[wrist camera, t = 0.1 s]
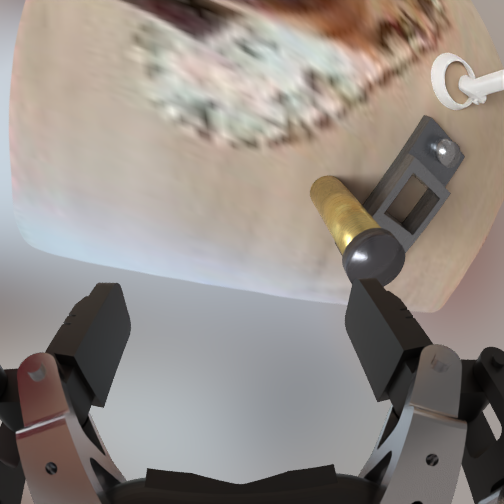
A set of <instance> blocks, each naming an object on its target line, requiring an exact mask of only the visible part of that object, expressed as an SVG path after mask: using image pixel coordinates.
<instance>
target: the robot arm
mask: <svg viewBox="0 0 504 504" xmlns="http://www.w3.org/2000/svg"><path fill="white" fill-rule="evenodd" d="M345 327H346V330H347V333H348V336H349V338H350V340H351V342H352V344H353V347H354V349H355V351H356V353H357V355H358V358H359V360H360V362H361V365H362V367H363V369H364V371H365V374H366V376H367V378H368V381H369V383H370V385H371V388H372V390H373V392H374V395H375V397H376V400H377V402H380V401H384V400H388V399H390V400H391V403H392V405H391V407H390V409H389V411H388V414H387V417H386V419H385V422H384V425H383V427H382V430H381V433H380V435H379V438H378V440H377V442H376V445H375V447H374V450H373V452H372V454H371V456H370V458H369V459H368V461H367V462H366V464H365V465H364V467H363V469H362V470H361V472H360V474H359V476H358V477H357V476H353V475H345V474H336V472H335V468H334V465H333V464H332V465H327V466H321V467H316V468H308V469H302V470H293V471H287V472H285V473H282V474H278V475H275V476H272V477H268V478H265V479H261V480H258V481H254V482H250V483H247V484H234V483H229V482H224V481H219V480H216V479H212V478H208V477H204V476H200V475H197V474H193V473H184V472H173V471H164V470H156V469H149V468H147V474H146V478H140V479H134V480H130V481H126V479H125V478H124V476H123V475H122V473H121V472H120V471H119V469H118V468H117V467H116V465H115V464H114V462H113V461H112V459H111V457H110V455H109V454H108V451H107V450H106V447H105V445H104V443H103V441H102V439H101V437H100V435H99V433H98V430H97V428H96V426H95V424H94V421H93V419H92V417H91V415H90V414H89V410H90V408H91V405H93V406H98V407H103V408H104V406H105V402H106V399H107V396H108V393H109V390H110V387H111V385H112V382H113V379H114V376H115V373H116V370H117V368H118V365H119V362H120V359H121V356H122V354H123V351H124V349H125V346H126V343H127V341H128V338H129V335H130V331H131V322H130V317H129V314H128V311H127V307H126V303H125V300H124V296H123V292H122V289H121V286H120V284H118V283H98V284H97V285H96V286H95V287H94V289H93V290H92V292H91V293H90V295H89V296H86V297H84V298H83V299H82V300H81V301H79V302H78V303H77V304H76V305H75V306H74V307H73V309H72V311H71V312H70V313H69V316H68V317H67V318H66V319H65V321H64V324H63V325H62V326H61V327H60V329H59V330H58V332H57V334H56V335H55V337H54V338H53V340H52V342H51V343H50V345H49V347H48V348H47V350H46V352H45V353H44V352H40V353H35V354H32V355H30V356H29V357H27V358H26V359H25V360H24V361H23V362H22V363H21V364H20V366H19V368H18V369H6V370H3V369H2V367H1V365H0V420H1V421H2V424H1V426H0V504H21V499H22V494H23V489H24V484H25V480H26V481H27V484H28V487H29V490H30V494H31V496H32V499H33V502H34V504H451V502H452V499H453V496H454V492H455V488H456V484H457V481H458V476H459V472H460V467H461V464H462V467H463V469H464V472H465V475H466V478H467V481H468V484H469V487H470V490H471V493H472V497H473V500H474V503H475V504H504V351H502V350H500V349H498V348H495V347H487V348H485V349H484V350H483V351H482V352H481V354H480V356H479V358H478V359H477V360H460V358H459V356H458V355H457V354H456V353H455V352H454V351H453V350H452V349H450V348H448V347H446V346H444V345H439V344H433V343H432V342H431V340H430V339H429V337H428V336H427V335H426V333H425V332H424V330H423V329H422V328H421V326H420V325H419V323H418V322H417V321H416V319H415V318H413V315H412V314H411V313H410V311H409V310H407V307H406V306H405V305H404V303H403V302H402V301H401V299H400V298H398V297H397V296H395V295H394V294H393V293H391V292H390V291H386V290H385V289H384V287H383V286H382V285H381V283H380V282H379V281H378V280H377V279H376V278H365V279H355V280H354V282H353V284H352V288H351V293H350V297H349V302H348V306H347V310H346V315H345ZM489 403H490V404H491V406H492V408H493V410H494V412H495V414H496V416H497V418H498V419H499V421H500V423H501V426H502V433H501V436H500V438H499V439H498V440H497V441H496V439H495V437H494V434H493V433H492V430H491V428H490V426H489V424H488V422H487V420H486V418H485V416H484V414H483V412H482V411H483V410H484V409H485V408H486V406H487V405H488V404H489Z"/></svg>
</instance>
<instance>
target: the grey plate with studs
mask: <svg viewBox="0 0 504 504" xmlns="http://www.w3.org/2000/svg"><path fill="white" fill-rule="evenodd" d="M464 157H465V156H464V155H463V154H462V153H461V151H460V148H459V146H458V145H457V144H456V143H454V142H453V141H452V140H451V139H450V138H449V137H448V136H447V134H446V133H445V132H444V131H443V130H442V129H441V128H440V126H439V125H438V124H437V123H436V122H435V121H434V120H433V119H432V118H431V117H428V116H425V115H424V116H423V118H422V120H421V121H420V123H419V124H418V126H417V127H416V129H415V130H414V132H413V134H412V135H411V137H410V138H409V140H408V141H407V143H406V144H405V146H404V147H403V149H402V150H401V152H400V153H399V155H398V156H397V158H396V159H395V161H394V162H393V163H392V165H391V166H390V168H389V169H388V171H387V172H386V174H385V175H384V176H383V178H382V179H381V181H380V182H379V184H378V185H377V186H376V188H375V189H374V191H373V192H372V193H371V195H370V196H369V197H368V199H367V200H366V202H365V203H364V204H363V207H364V208H365V209H366V211H367V212H368V213H369V214H370V215H371V216H372V218H373V219H374V220H375V221H376V222H377V224H378V225H379V226H380V227H381V228H383V229H386V230H388V231H390V232H391V233H392V234H393V235H394V236H395V238H396V239H397V240H398V241H399V243H400V244H401V245H402V246H403V248H404V251H405V253H406V252H407V250H408V249H409V248H410V247H411V246H412V244H413V243H414V242H415V241H416V239H417V238H418V237H419V236H420V234H421V233H422V232H423V230H424V229H425V228H426V227H427V225H428V224H429V223H430V221H431V220H432V219H433V217H434V216H435V215H436V213H437V212H438V210H439V209H440V208H441V206H442V205H443V204H444V202H445V201H446V199H447V198H448V196H449V195H450V194H451V193H450V192H449V191H448V190H447V189H446V188H445V186H446V185H447V184H448V182H449V181H450V179H451V178H452V176H453V175H454V173H455V172H456V170H457V168H458V167H459V165H460V164H461V162H462V161H463V159H464ZM411 175H413V176H415V177H416V178H417V179H418V180H419V181H420V182H421V183H422V184H423V185H424V186H425V187H426V188H427V191H426V192H425V194H424V195H423V196H422V198H421V199H420V201H419V202H418V203H417V205H416V206H415V207H414V209H413V210H412V211H411V213H410V214H409V215H408V217H407V218H406V219H405V221H404V222H403V223H401V222H399V221H398V220H397V219H395V218H394V217H393V216H391V215H390V214H389V213H387V212H386V210H387V209H388V207H389V206H390V204H391V203H392V202H393V200H394V199H395V198H396V196H397V195H398V194H399V192H400V191H401V189H402V188H403V187H404V185H405V184H406V182H407V181H408V179H409V178H410V177H411ZM335 244H336V242H335ZM336 246H337V244H336ZM337 247H338V246H337ZM338 249H339V247H338ZM339 251H340V249H339ZM340 253H341V251H340ZM341 255H342V253H341ZM342 256H343V255H342Z"/></svg>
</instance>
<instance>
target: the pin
mask: <svg viewBox="0 0 504 504" xmlns="http://www.w3.org/2000/svg"><path fill="white" fill-rule="evenodd" d="M310 197H311V200H312V201H313V203H314V205H315V207H316V208H317V210H318V212H319V213H320V215H321V217H322V219H323V220H324V222H325V224H326V226H327V227H328V229H329V231H330V233H331V235H332V236H333V238H334V240H335V242H336V244H337V246H338V247H339V249H340V251H341V253H342V255H343V258H342V263H343V267H344V270H345V272H346V274H347V276H348V278H349V280H350V282H351V283H352V284H353V282H354V280H355V279H365V278H376V279H377V280H378V281H379V282H380V283H381V285H382V286H383V287H384V286H385V285H387V284H389V283H390V282H391V281H392V280H394V279H395V278H396V277H397V275H398V274H399V273H400V271H401V269H402V267H403V265H404V262H405V251H404V248H403V246H402V245H401V244H400V243H399V241H398V240H397V239H396V238H395V236H394V235H393V234H392V233H391V232H390V231H388V230H386V229H383V228H381V227H380V226H379V225H378V224H377V222H376V221H375V220H374V219H373V218H372V216H371V215H370V214H369V213H368V212H367V211H366V209H365V208H364V207H363V206H362V205H361V204H360V203H359V201H358V200H357V199H356V198H355V197H354V196H353V195H352V194H351V192H350V191H349V190H348V189H347V188H346V187H345V186H344V185H343V184H342V183H341V182H340V180H339V179H337V178H336V177H333V176H323V177H321V178H319V179H317V180H316V181H315V182H314V183H313V185H312V187H311V190H310Z"/></svg>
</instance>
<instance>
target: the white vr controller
mask: <svg viewBox="0 0 504 504" xmlns="http://www.w3.org/2000/svg"><path fill="white" fill-rule="evenodd" d="M454 61H459V62H461V63H462V64H463V65H464V66H465V68H466V70H467V72H468V74H469V76H467V75H464V76H461V78H460V80H459V90H461V91H462V92H463V93H465V94H466V95H467V96H469V97H468V99H467V101H466V102H465V103H464V104H458V103H456V102H455V101H454V100H453V99H452V98H451V97H450V95H449V94H448V91H447V89H446V86H445V71H446V68H447V67H448V65H449V64H450V63H451V62H454ZM431 81H432V86H433V89H434V92H435V94H436V96H437V98H438V99H439V101H440V102H441V103H442V104H443V105H444V106H446V107H447V108H449V109H452V110H461V109H463V108H466V107H468V106H469V105H470V104H471V103H472V102H473V103H474V104H476V105H479V103H483V104H484V103H485V101H486V99H487V97H486V95H488V94H491V93H495V92H498V91H501V90H504V69H503V70H500V71H497V72H494V73H490V74H487V75H484V76H482V77H479V78H475V75H474V73H473V71H472V69H471V67H470V66H469V65H468V64H467V63H466V62H465V61H464V60H463V59H461V58H460V57H458V56H457V55H455V54H452V53H443V54H441V55H439V56H438V57H437V58H436V59H435V61H434V63H433V66H432V70H431ZM478 102H479V103H478Z"/></svg>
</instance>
